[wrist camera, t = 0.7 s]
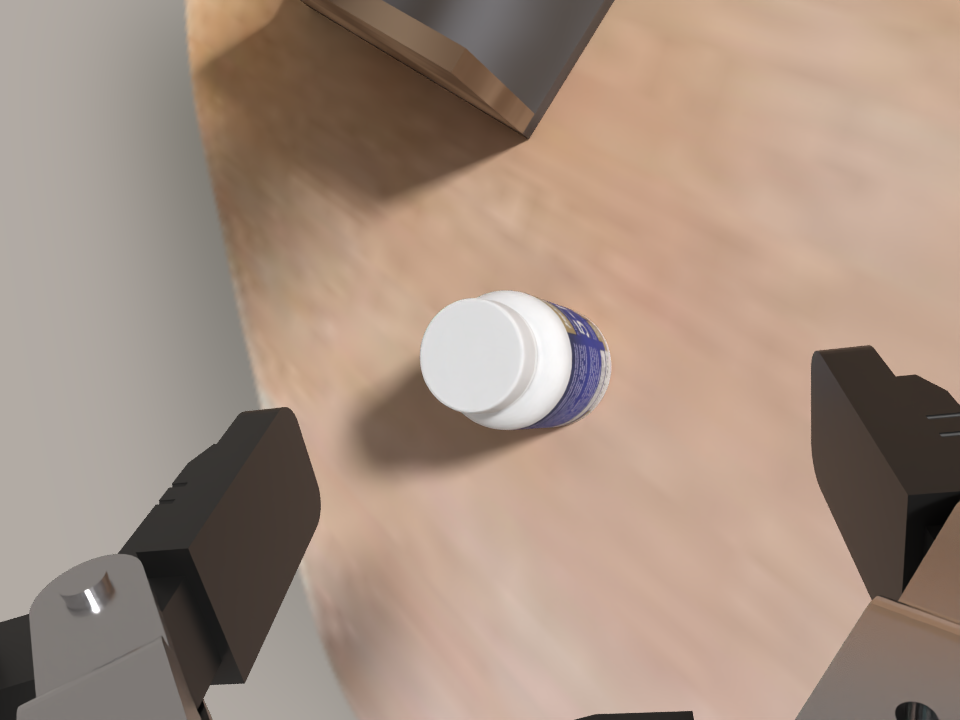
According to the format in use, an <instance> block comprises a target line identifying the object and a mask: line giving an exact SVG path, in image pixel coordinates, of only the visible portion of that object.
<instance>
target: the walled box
mask: <svg viewBox="0 0 960 720" xmlns="http://www.w3.org/2000/svg"><path fill="white" fill-rule="evenodd" d="M301 1H302V2H304V3H305V4H306V5H308V6H309V7H310V8H312V9H314V10H315V11H317V12H319V13H320V14H322V15H324V16H325V17H327V18H329V19H330V20H332V21H334V22H335V23H337V24H339V25H340V26H342V27H344V28H345V29H347V30H349V31H350V32H352V33H354V34H355V35H357V36H359V37H360V38H362V39H364V40H365V41H367V42H368V43H370V44H372V45H373V46H375V47H377V48H378V49H380V50H382V51H383V52H385V53H387V54H388V55H390V56H392V57H393V58H395V59H397V60H398V61H400V62H402V63H403V64H405V65H407V66H408V67H410V68H412V69H413V70H415V71H417V72H418V73H420V74H422V75H423V76H425V77H427V78H428V79H430V80H432V81H433V82H435V83H437V84H438V85H440V86H442V87H443V88H445V89H447V90H448V91H450V92H451V93H453V94H455V95H456V96H458V97H460V98H461V99H463V100H465V101H466V102H468V103H470V104H471V105H473V106H475V107H476V108H478V109H480V110H481V111H483V112H485V113H486V114H488V115H490V116H491V117H493V118H495V119H496V120H498V121H500V122H501V123H503V124H505V125H506V126H508V127H510V128H511V129H513V130H515V131H516V132H518V133H520V134H521V135H523V136H525V137H526V138H528V139H529V138H530V136H531V135H532V133H533V132H534V130H535V128H536V127H537V125H538V123H539V122H540V120H541V119H542V117H543V115H544V114H545V112H546V110H547V109H548V107H549V106H550V104H551V102H552V101H553V99H554V97H555V96H556V94H557V93H558V91H559V89H560V88H561V86H562V84H563V83H564V81H565V80H566V78H567V76H568V75H569V73H570V71H571V70H572V68H573V67H574V65H575V63H576V62H577V60H578V58H579V57H580V55H581V54H582V52H583V50H584V49H585V47H586V46H587V44H588V42H589V41H590V39H591V37H592V36H593V34H594V33H595V31H596V29H597V28H598V26H599V24H600V23H601V21H602V20H603V18H604V16H605V15H606V13H607V11H608V10H609V8H610V7H611V5H612V3H613V2H614V0H301Z"/></svg>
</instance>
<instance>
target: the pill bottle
mask: <svg viewBox="0 0 960 720" xmlns="http://www.w3.org/2000/svg"><path fill="white" fill-rule="evenodd" d="M420 366H421V371H422V375H423V378H424V380H425V383H426V385H427V386H428V388H429V390H430V391H431V393H432V394H433V395H434V396H435V397H436V398H437V399H438V400H439V401H440V402H441V403H443V404H444V405H445V406H447V407H449V408H451V409H453V410H456V411H459V412H461V413H463V414H464V415H465V416H466V417H468V418H469V419H471V420H472V421H474V422H476V423H478V424H480V425H482V426H485V427H488V428H492V429H499V430H520V429H533V428H549V427H559V426H565V425H569V424H572V423H574V422H577V421H579V420H581V419H582V418H584V417H585V416H587V415H588V414H589V413H590V412H592V411H593V410H594V409H595V407H596V406H597V405H598V404H599V402H600V401H601V399H602V398H603V396H604V394H605V392H606V390H607V387H608V385H609V381H610V375H611V357H610V352H609V348H608V345H607V342H606V340H605V338H604V336H603V335H602V333H601V332H600V330H599V329H598V328H597V326H596V325H595V324H594V323H593V322H592V321H590V320H589V319H588V318H586V317H585V316H584V315H582V314H580V313H578V312H576V311H573V310H571V309H568V308H565V307H562V306H559V305H557V304H554V303H551V302H548V301H545V300H543V299H540V298H537V297H535V296H532V295H529V294H526V293H522V292H517V291H503V290H502V291H494V292H490V293H487V294H484V295H481V296H479V297H477V298H468V299H462V300H459V301H456V302H454V303H452V304H450V305H448V306H446V307H445V308H443V309H442V310H441V311H440V312H439V313H438V314H437V315H436V316H435V317H434V318H433V319H432V321H431V322H430V324H429V325H428V327H427V329H426V331H425V333H424V336H423V339H422V343H421V349H420Z"/></svg>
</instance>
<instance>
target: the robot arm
mask: <svg viewBox="0 0 960 720" xmlns="http://www.w3.org/2000/svg"><path fill="white" fill-rule="evenodd" d="M811 447H812V458H813V464H814V470H815V474H816V478H817V481H818V484H819V487H820V489H821V491H822V493H823V495H824V498H825V500H826V502H827V504H828V506H829V508H830V511H831V513H832V515H833V517H834V519H835V521H836V524H837V526H838V528H839V530H840V532H841V534H842V537H843V539H844V541H845V543H846V545H847V547H848V549H849V552H850V554H851V556H852V558H853V560H854V562H855V565H856V567H857V569H858V571H859V573H860V575H861V578H862V580H863V582H864V584H865V586H866V588H867V591H868V593H869V595H870V597H871V599H872V601H871V602H870V603H869V605H868V606H867V608H866V609H865V611H864V612H863V614H862V615H861V617H860V618H859V620H858V622H857V623H856V625H855V626H854V628H853V629H852V631H851V633H850V634H849V636H848V637H847V639H846V640H845V642H844V644H843V645H842V647H841V648H840V650H839V651H838V653H837V655H836V656H835V658H834V659H833V661H832V662H831V664H830V666H829V667H828V669H827V670H826V672H825V673H824V675H823V677H822V678H821V680H820V681H819V683H818V684H817V686H816V688H815V689H814V691H813V692H812V694H811V695H810V697H809V698H808V700H807V702H806V703H805V705H804V706H803V708H802V709H801V711H800V713H799V714H798V716H797V717H796V719H795V720H960V405H959V404H958V403H957V402H956V400H955V399H954V398H953V397H952V396H951V395H950V394H949V392H948V391H946V390H945V389H943V388H941V387H939V386H937V385H935V384H933V383H931V382H929V381H927V380H925V379H923V378H921V377H919V376H917V375H907V376H897V377H896V376H895V375H894V374H893V373H892V371H891V370H890V369H889V367H888V366H887V365H886V363H885V362H884V361H883V360H882V358H881V357H880V356H879V354H878V353H877V352H876V350H875V349H874V348H873V347H872V346H870V345H867V346H857V347H848V348H839V349H829V350H820V351H815V352H814V354H813V356H812V363H811ZM172 485H173V487H172V488H168V490H167V491H166V492H165V494H164V495H163V496H162V498H161V499H160V500H159V505H155V507H154V508H153V509H152V510H151V512H150V513H149V514H148V515H147V517H146V518H145V519H144V521H143V522H142V523H141V524H140V526H139V527H138V528H137V530H136V531H135V532H134V534H133V535H132V536H131V537H130V539H129V540H128V541H127V542H126V544H125V545H124V546H123V548H122V549H121V550H120V551H119V553H118V554H113V555H107V556H102V557H98V558H95V559H91V560H89V561H86V562H84V563H81V564H79V565H77V566H75V567H73V568H72V569H70V570H68V571H66V572H64V573H63V574H62V575H60V576H59V577H57V578H56V579H54V580H53V581H52V582H51V583H49V584H48V585H47V586H46V587H45V588H44V589H43V590H42V591H41V592H40V594H39V595H38V596H37V597H36V599H35V600H34V602H33V604H32V606H31V608H30V613H29V614H27V615H24V616H21V617H17V618H14V619H10V620H7V621H4V622H0V720H212V717H211V715H210V712H209V710H208V708H207V706H206V703H205V702H204V699H203V698H204V696H205V694H206V692H207V690H208V688H209V686H210V685H219V684H239V683H241V684H242V683H245V681H246V679H247V677H248V675H249V673H250V671H251V668H252V666H253V664H254V662H255V660H256V658H257V656H258V653H259V651H260V649H261V647H262V645H263V642H264V640H265V638H266V636H267V634H268V632H269V630H270V627H271V625H272V623H273V621H274V619H275V617H276V614H277V612H278V610H279V608H280V606H281V603H282V601H283V599H284V597H285V594H286V593H287V590H288V588H289V586H290V584H291V582H292V580H293V577H294V575H295V573H296V571H297V569H298V567H299V564H300V562H301V560H302V558H303V556H304V554H305V551H306V549H307V547H308V545H309V543H310V541H311V538H312V536H313V534H314V532H315V530H316V528H317V525H318V522H319V518H320V510H321V501H320V492H319V487H318V484H317V481H316V477H315V474H314V471H313V468H312V465H311V462H310V459H309V455H308V452H307V449H306V446H305V443H304V440H303V437H302V433H301V430H300V427H299V424H298V421H297V418H296V416H295V414H294V413H293V411H292V410H291V409H289V408H287V407H282V408H273V409H264V410H255V411H245V412H242V413H240V414H239V415H238V416H237V418H236V419H235V420H234V422H233V423H232V424H231V426H230V427H229V428H228V430H227V431H226V432H225V434H224V435H223V436H222V438H221V439H220V440H219V442H218V443H217V444H213V445H212V446H211V447H209V448H208V449H207V450H205V451H204V452H203V453H201V454H200V455H198V456H197V457H196V458H195V459H193V460H192V461H190V462H189V463H188V464H187V465H186V466H185V468H184V469H183V470H182V472H181V473H180V474H179V475H178V477H177V478H176V479H175V481H174V482H173V483H172ZM576 720H694V718H693V711H681V712H651V713H622V714H595V715H591V716H587V717H583V718H579V719H576Z"/></svg>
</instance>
